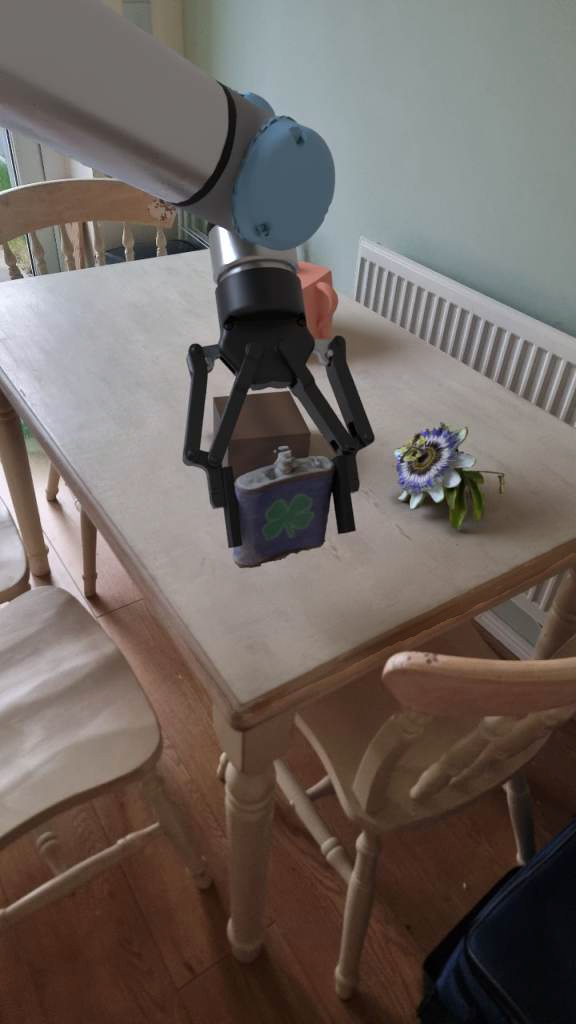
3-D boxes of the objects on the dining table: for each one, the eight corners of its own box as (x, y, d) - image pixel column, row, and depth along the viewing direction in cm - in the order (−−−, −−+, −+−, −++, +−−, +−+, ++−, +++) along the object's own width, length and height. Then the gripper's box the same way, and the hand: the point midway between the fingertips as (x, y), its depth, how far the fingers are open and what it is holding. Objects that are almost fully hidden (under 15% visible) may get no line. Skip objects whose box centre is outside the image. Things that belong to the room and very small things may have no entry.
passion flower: (398, 534, 86) (370, 442, 84) (474, 505, 88) (448, 414, 86) (440, 547, 75) (408, 442, 73) (525, 512, 77) (496, 409, 75)
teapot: (181, 353, 108) (176, 266, 100) (246, 311, 122) (247, 231, 113) (292, 390, 101) (299, 299, 93) (349, 341, 115) (359, 258, 106)
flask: (239, 573, 60) (242, 474, 54) (226, 552, 62) (227, 454, 56) (331, 545, 64) (344, 449, 57) (315, 526, 66) (326, 431, 59)
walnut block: (227, 482, 84) (227, 440, 80) (213, 436, 91) (212, 396, 87) (307, 473, 86) (311, 432, 82) (287, 429, 93) (289, 390, 89)
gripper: (361, 294, 66) (395, 527, 64) (129, 304, 61) (159, 557, 59) (390, 258, 59) (429, 520, 57) (129, 266, 54) (164, 554, 52)
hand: (292, 539), depth 58 cm, fingers closed on flask, 9 cm apart
